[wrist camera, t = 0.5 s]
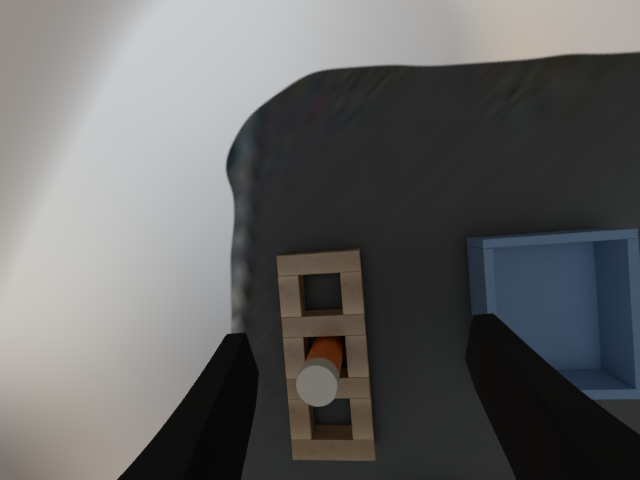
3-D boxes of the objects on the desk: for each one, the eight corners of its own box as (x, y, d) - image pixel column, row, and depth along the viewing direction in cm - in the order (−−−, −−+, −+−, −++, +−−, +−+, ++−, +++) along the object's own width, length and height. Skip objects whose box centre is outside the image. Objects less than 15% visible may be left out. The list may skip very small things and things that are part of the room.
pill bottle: (345, 363, 34) (339, 406, 26) (313, 364, 35) (297, 407, 26) (343, 331, 34) (336, 364, 26) (311, 332, 35) (294, 366, 26)
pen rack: (374, 443, 34) (375, 461, 32) (298, 443, 35) (292, 460, 33) (360, 248, 34) (359, 250, 31) (282, 253, 35) (276, 255, 32)
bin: (606, 374, 31) (647, 399, 27) (475, 376, 33) (493, 400, 28) (598, 228, 31) (638, 228, 26) (465, 237, 32) (482, 239, 28)
